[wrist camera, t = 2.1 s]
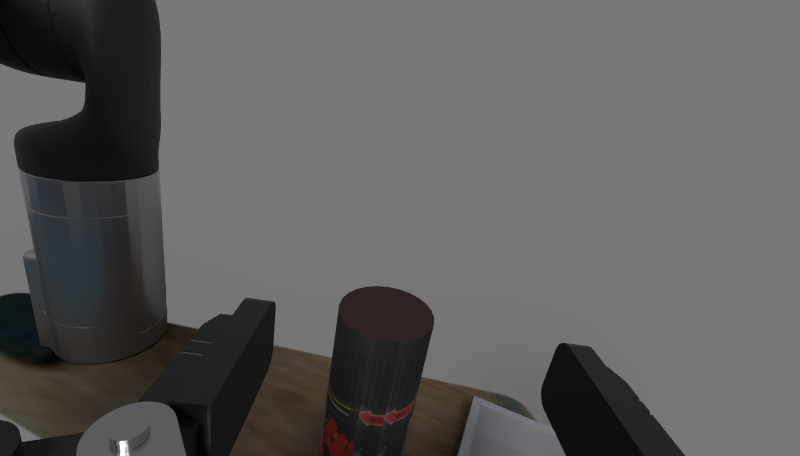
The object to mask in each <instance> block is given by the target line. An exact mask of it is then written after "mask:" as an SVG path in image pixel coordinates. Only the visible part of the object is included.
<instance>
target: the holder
mask: <svg viewBox="0 0 800 456" xmlns="http://www.w3.org/2000/svg"><path fill="white" fill-rule="evenodd" d="M457 456H566V455H565V453H564V451H563V449H562V447H561V445H560V442H559V440H558V438H557V436H556V434H555V432H554V430H553V429H552V428H550V427H548V426H545V425H543V424H540V423H538V422H536V421H533V420H531V419H529V418H526V417H524V416H521V415H519V414H517V413H514V412H512V411H509V410H507V409H505V408H502V407H500V406H497V405H495V404H493V403H490V402H488V401H485V400H483V399H481V398H478V397H476V396H474V398H473V401H472V405H471V408H470V411H469V414H468V417H467V421H466V424H465V427H464V430H463V434H462V438H461V441H460V445H459V449H458V452H457Z"/></svg>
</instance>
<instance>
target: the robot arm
mask: <svg viewBox="0 0 800 456" xmlns="http://www.w3.org/2000/svg"><path fill="white" fill-rule="evenodd" d="M0 64H3V65H5V66H8V67H11V68H14V69H16V70H20V71H23V72H27V73H31V74H36V75H40V76H45V77H52V78H58V79H64V80H70V81H77V82H83V83H86V88H85V89H86V90H85V103H84V107H83V110H82V111H81V112H79V113H78V114H76V115H74V116H73V117H70V118H68V119H65V120H61V121H54V122H47V123H41V124H36V125H31V126H27V127H24V128H23V129H21V130H19V131H18V132H17V133H16V135H15V138H14V147H15V153H16V159H17V164H18V167H19V168H18V169H19V173H20V179H21V184H22V190H23V194H24V200H25V205H26V210H27V215H28V221H29V226H30V231H31V236H32V242H33V247H34V249H31V250H29V251H27V252H26V253H25V254H24V256H23V261H24V265H25V270H26V275H27V280H28V285H29V290H30V295H31V300H32V305H33V310H34V315H35V320H36V325H37V330H38V335H39V340H40V345H41V346H46V347H50V348H52V349H53V351H54V353H55V354H56V355H57V356H58V357H60V358H61V359H63V360H66V361H69V362H73V363H81V364H96V363H104V362H110V361H115V360H119V359H123V358H126V357H129V356H131V355H134V354H136V353H138V352H141V351H143V350H145V349H146V348H148V347H150V346H151V345H153V344H154V343H155V342H157V341H158V340H159V339H160V338H161V337H162V335H163V334H164V333H165V331H166V328H167V308H166V286H165V267H164V249H163V232H162V231H163V230H162V213H161V198H160V197H161V196H160V179H159V178H160V177H159V160H158V150H159V141H160V132H161V131H160V130H161V111H160V75H161V74H160V73H161V34H160V23H159V15H158V10H157V6H156V2H155V0H0ZM275 308H276V307H275V302H273V301H266V300H258V299H251V298H245V299H244V300H243V302H242V303H241V304H240V306H239V307H238V308H237V310H236V311H235V312H234V314H233V315H225V314H220V315H218V316H216V317H215V318H213V319H211V320H209V321H208V322H206V323H204V324H203V325H202V326H201V327H200V328H199V330H198V331H197V332H196V333H195V334H194V336H193V337H192V338H191V341H189V342H188V343H187V344H186V345H185V346H184V348H183V349H182V350H181V353H180V354H178V355H177V356H176V357H175V358H174V360H173V361H172V362H171V363H170V364H169V366H168V367H167V368H166V369H165V370H164V372H163V373H162V374H161V375H160V376H159V378H158V379H157V380H156V381H155V382H154V383H153V385H152V386H151V387H150V388H149V389H148V391H147V392H146V393H145V394H144V395H143V397H142V398H141V399H140V400H139V401H138V403H133V404H129V405H126V406H123V407H120V408H118V409H115V410H113V411H111V412H109V413H108V414H106V415H104V416H103V417H101V418H100V419H98V420H97V421H96V422H95V423H93V424H92V425H91V426H90V427H89V428H88V429H87V431H86V432H83V433H78V434H73V435H66V436H60V437H53V438H46V439H40V440H33V441H26V442H22V440H21V436H20V432H19V429H18V428H17V427H16V426H15V425H14V424H12V423H10V422H7V421H2V420H0V456H229V454H230V452H231V450H232V448H233V445H234V443H235V441H236V439H237V437H238V435H239V432H240V430H241V428H242V426H243V424H244V422H245V419H246V417H247V415H248V413H249V411H250V409H251V406H252V404H253V402H254V400H255V398H256V396H257V393H258V391H259V389H260V387H261V385H262V382H263V380H264V378H265V376H266V374H267V371H268V369H269V365H270V362H271V358H272V352H273V340H274V325H275V310H276V309H275ZM541 399H542V405H543V408H544V411H545V412H546V415H547V417H548V419H549V421H550V423H551V425H552V427H553V430H554V432H555V434H556V436H557V438H558V440H559V442H560V445H561V447H562V449H563V451H564V453H565V455H566V456H685V455H684V454H683V453H682V451H681V450H680V449H679V448H678V446H677V445H676V444H675V443H674V441H673V440H672V439H671V438H670V436H669V435H668V434H667V433H666V431H665V430H664V429H663V428H662V426H661V425H660V424H659V423H658V421H657V420H656V419H655V418H654V416H653V415H650V411H649V410H648V409H647V408H646V406H645V405H644V404H643V403H642V402H641V401H639V398H638V396H637V395H636V394H635V393H634V392H633V390H632V389H631V388H630V386H629V385H628V384H627V383H626V382H625V381H624V380H623V379H622V378H620V377H619V376H618V375H617V374H616V373H614V372H613V371H612V370H611V369H609V368H608V367H606V366H605V365H604V363H603V362H602V361H601V359H600V358H599V357H598V355H597V354H596V353H595V351H594V350H593V349H592V348H590V347H588V346H582V345H574V344H567V343H561V344H559V345H558V347H557V348H556V351H555V353H554V356H553V359H552V361H551V364H550V366H549V369H548V372H547V374H546V377H545V380H544V382H543V385H542V390H541Z"/></svg>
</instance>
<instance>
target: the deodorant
mask: <svg viewBox="0 0 800 456" xmlns="http://www.w3.org/2000/svg"><path fill="white" fill-rule="evenodd" d="M433 326H434V316H433V314H432V311H431V309H430V308H429V307H428V306H427V305H426V304H425V303H424V302H423V301H422V300H420V299H419V298H417V297H416V296H414V295H412V294H410V293H407V292H404V291H402V290H399V289H394V288H390V287H379V286H374V287H364V288H360V289H356V290H354V291H352V292H350V293H348V294H347V295H346V296H344V297H343V298H342V300H341V302H340V304H339V312H338V318H337V326H336V333H335V341H334V349H333V356H332V363H331V371H330V378H329V385H328V393H327V400H326V408H325V415H324V423H323V430H322V438H321V445H320V453H319V456H402V454H403V450H404V445H405V441H406V437H407V433H408V429H409V425H410V421H411V416H412V412H413V408H414V404H415V400H416V396H417V392H418V388H419V383H420V379H421V375H422V371H423V366H424V362H425V359H426V354H427V350H428V346H429V342H430V338H431V334H432V330H433Z"/></svg>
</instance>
